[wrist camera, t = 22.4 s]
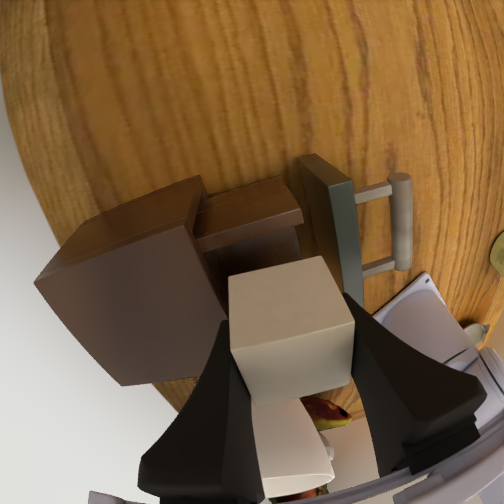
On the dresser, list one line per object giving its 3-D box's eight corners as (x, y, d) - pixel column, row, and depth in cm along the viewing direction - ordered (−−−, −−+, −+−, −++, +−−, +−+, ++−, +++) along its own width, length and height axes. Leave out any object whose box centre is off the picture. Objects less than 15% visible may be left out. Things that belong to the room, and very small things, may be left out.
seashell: (442, 317, 30) (432, 362, 33) (451, 329, 28) (439, 375, 30) (486, 306, 29) (474, 350, 31) (496, 316, 26) (482, 361, 29)
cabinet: (199, 174, 18) (183, 224, 11) (244, 287, 22) (252, 365, 16) (83, 222, 18) (32, 282, 12) (140, 315, 23) (121, 386, 17)
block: (326, 320, 14) (350, 384, 10) (248, 338, 14) (255, 406, 10) (321, 254, 12) (355, 321, 8) (227, 276, 12) (229, 350, 8)
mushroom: (366, 499, 22) (377, 395, 29) (310, 534, 15) (327, 396, 22) (290, 486, 30) (299, 397, 38) (224, 502, 23) (235, 392, 30)
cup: (247, 399, 31) (257, 501, 20) (180, 362, 27) (171, 489, 15) (322, 361, 28) (355, 475, 17) (261, 312, 24) (286, 468, 12)
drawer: (373, 139, 16) (426, 161, 11) (384, 245, 20) (422, 291, 16) (183, 193, 17) (166, 236, 12) (227, 293, 21) (229, 352, 17)
